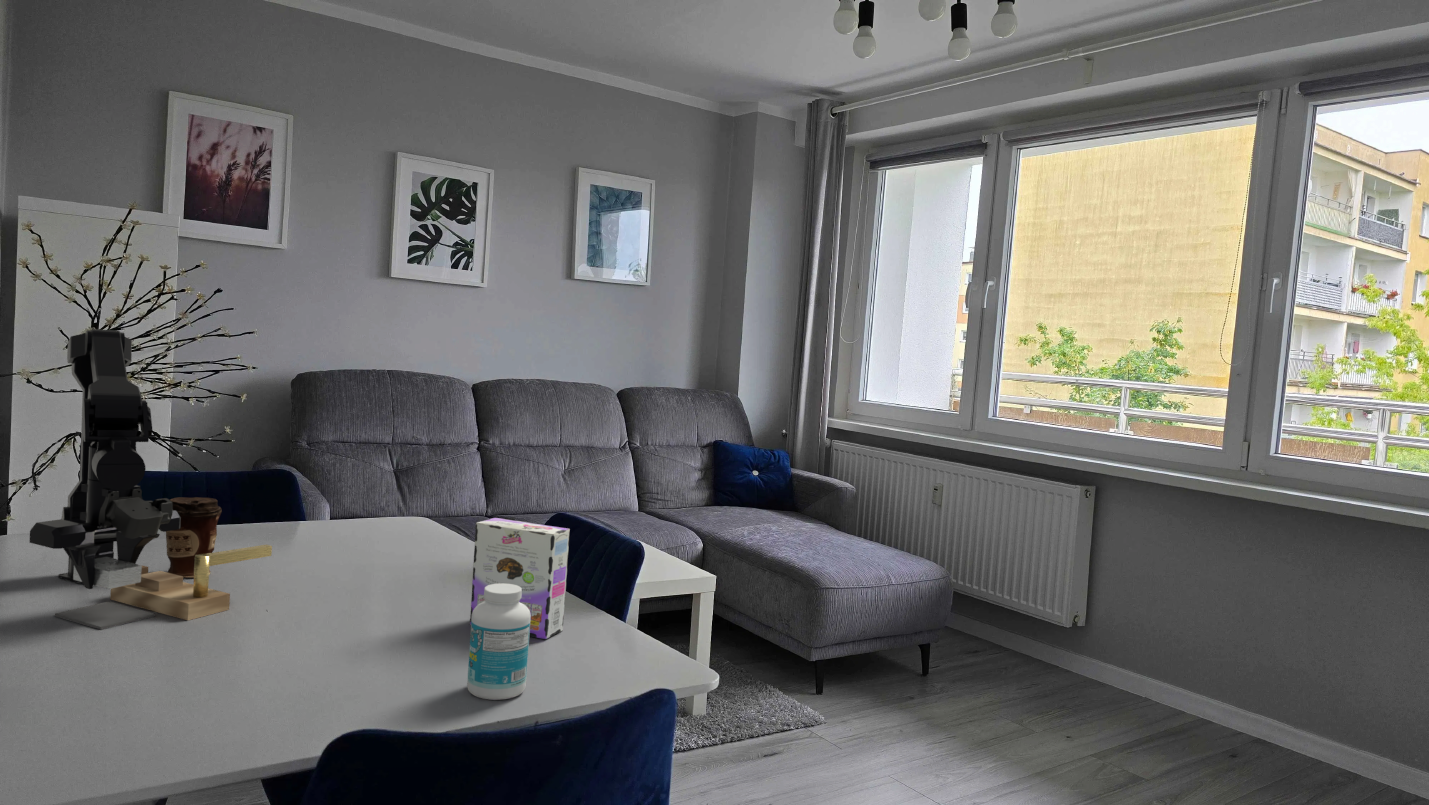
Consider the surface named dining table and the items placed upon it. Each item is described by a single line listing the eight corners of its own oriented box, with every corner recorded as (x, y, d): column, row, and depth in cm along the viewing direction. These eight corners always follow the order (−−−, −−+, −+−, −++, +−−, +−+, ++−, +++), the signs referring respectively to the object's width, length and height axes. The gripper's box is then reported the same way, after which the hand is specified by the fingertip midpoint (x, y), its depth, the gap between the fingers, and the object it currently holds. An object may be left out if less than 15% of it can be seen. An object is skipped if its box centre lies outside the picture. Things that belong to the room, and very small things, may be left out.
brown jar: (191, 583, 156) (195, 506, 156) (148, 577, 158) (151, 500, 157) (228, 572, 165) (232, 498, 164) (187, 566, 167) (190, 493, 166)
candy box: (564, 631, 148) (572, 527, 147) (545, 641, 142) (553, 533, 141) (488, 616, 152) (495, 515, 151) (467, 625, 147) (474, 520, 146)
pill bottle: (471, 679, 125) (478, 578, 124) (528, 682, 125) (535, 582, 124) (461, 700, 117) (468, 594, 116) (521, 703, 118) (529, 597, 117)
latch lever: (197, 598, 141) (199, 557, 140) (190, 595, 142) (192, 555, 141) (271, 583, 151) (273, 546, 151) (263, 581, 152) (265, 544, 152)
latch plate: (110, 599, 145) (111, 570, 144) (153, 590, 151) (154, 562, 151) (187, 620, 138) (189, 590, 138) (229, 609, 145) (230, 580, 144)
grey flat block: (73, 579, 136) (73, 562, 136) (106, 573, 140) (106, 556, 140) (108, 589, 133) (109, 571, 133) (140, 582, 137) (141, 565, 137)
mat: (54, 616, 135) (54, 613, 135) (109, 604, 143) (109, 601, 143) (100, 629, 131) (101, 626, 131) (154, 616, 139) (154, 613, 139)
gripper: (83, 493, 124) (77, 610, 125) (208, 479, 141) (203, 582, 142) (29, 482, 128) (24, 594, 129) (157, 469, 146) (152, 569, 147)
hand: (106, 584), depth 137 cm, fingers closed on grey flat block, 5 cm apart
